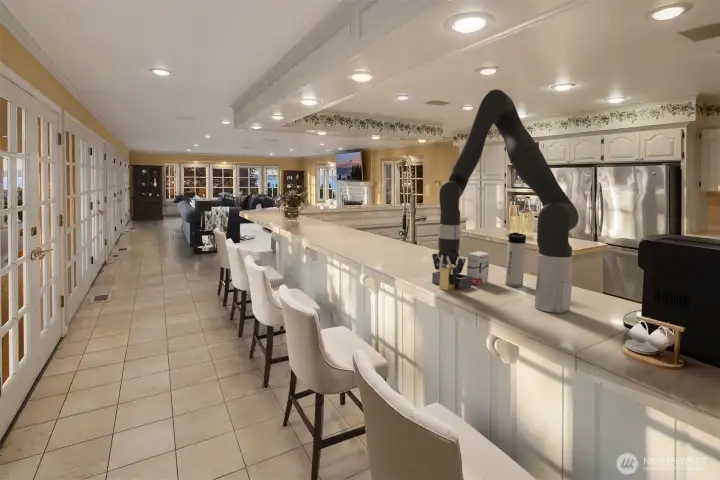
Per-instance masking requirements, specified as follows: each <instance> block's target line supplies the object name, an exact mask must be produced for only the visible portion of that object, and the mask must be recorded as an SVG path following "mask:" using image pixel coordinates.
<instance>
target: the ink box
mask: <svg viewBox="0 0 720 480" xmlns="http://www.w3.org/2000/svg"><path fill="white" fill-rule="evenodd" d="M490 255H491V253H489V252H485V251H480V250H478V251H473V252H469V253H468V255H467V267H466V275H467V276H472V277H471V285H473V286H480V285H482V284H486V283H488V280H489V268H490Z"/></svg>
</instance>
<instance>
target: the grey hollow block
mask: <svg viewBox="0 0 720 480" xmlns="http://www.w3.org/2000/svg"><path fill="white" fill-rule="evenodd" d="M471 277H472V276H467V274H463V273H458V274H457V275H456V283H455V289H454V290H458V291H459V290H460V291H461V290H464V289H468V288H471V287H472V284H471ZM431 278H432V279H431V284H437V285H439V284H440V280H439V271H438V270H437V271H435V272H432V277H431Z"/></svg>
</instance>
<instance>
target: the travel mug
mask: <svg viewBox="0 0 720 480" xmlns="http://www.w3.org/2000/svg"><path fill="white" fill-rule="evenodd" d="M526 244H527V235H526V234H523V233H519V232H511V233H509V234H508V241H507V253H506V268H505V269H506V271H505V285H506V286H508V287H511V288H521V287H523V286H524V274H525V257H526Z"/></svg>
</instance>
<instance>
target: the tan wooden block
mask: <svg viewBox="0 0 720 480" xmlns="http://www.w3.org/2000/svg"><path fill="white" fill-rule="evenodd" d="M453 271H454V268H453ZM450 275H451V274H450V269H449V267H448V265H447V266H446V267H440V284H438V285H439V290H444V291H447V292H450V291H454V290H456V289H455V284H453V285H451V284H450Z"/></svg>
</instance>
